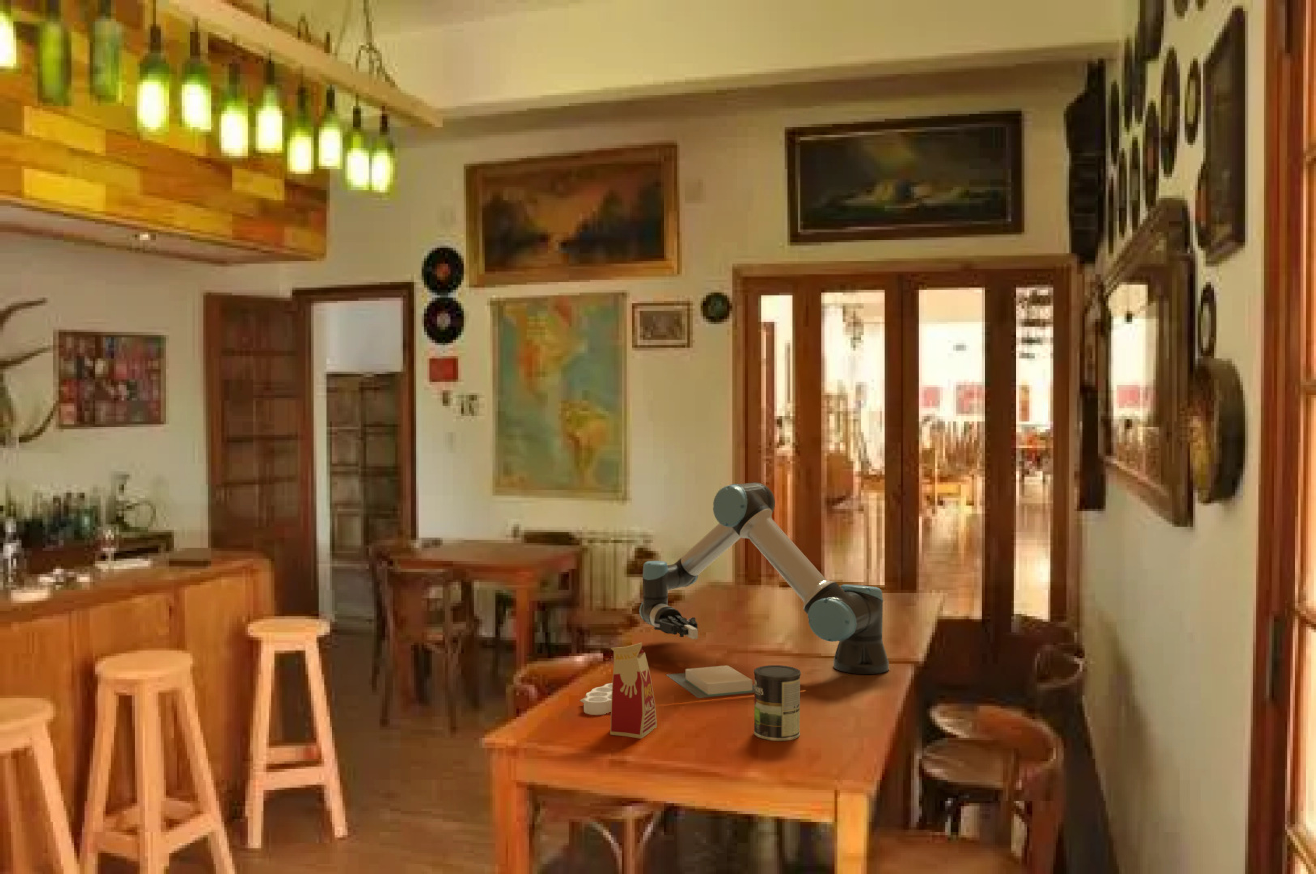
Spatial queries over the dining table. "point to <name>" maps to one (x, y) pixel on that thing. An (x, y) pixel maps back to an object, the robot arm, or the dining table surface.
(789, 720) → the coffee can
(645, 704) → the milk carton
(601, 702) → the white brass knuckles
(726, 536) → the robot arm
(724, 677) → the tile
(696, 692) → the mat
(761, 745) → the dining table surface
